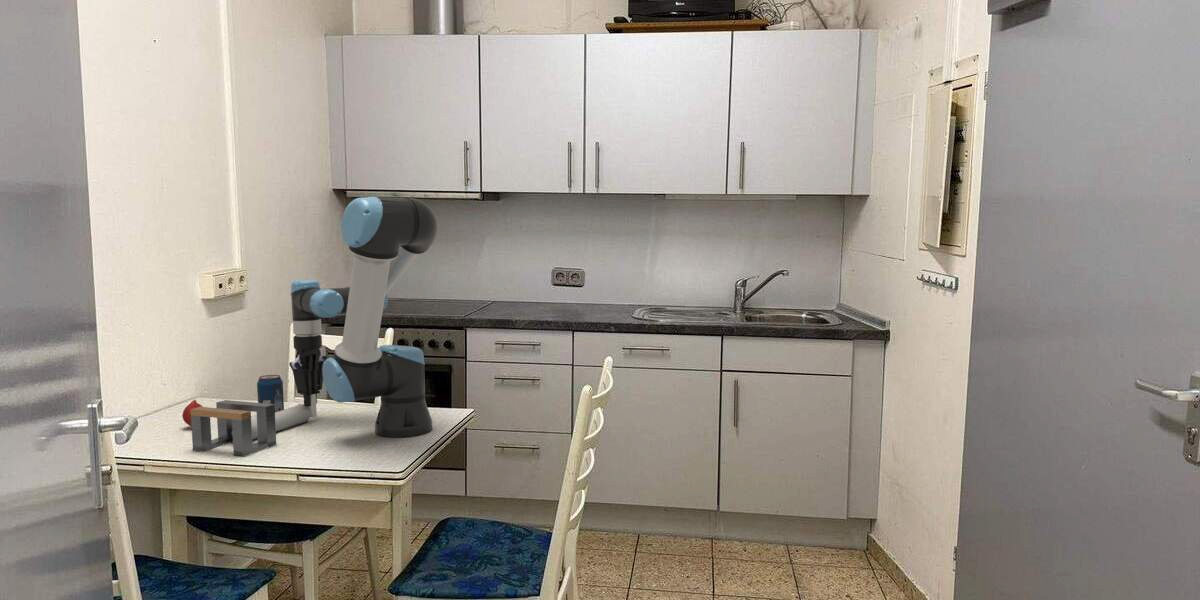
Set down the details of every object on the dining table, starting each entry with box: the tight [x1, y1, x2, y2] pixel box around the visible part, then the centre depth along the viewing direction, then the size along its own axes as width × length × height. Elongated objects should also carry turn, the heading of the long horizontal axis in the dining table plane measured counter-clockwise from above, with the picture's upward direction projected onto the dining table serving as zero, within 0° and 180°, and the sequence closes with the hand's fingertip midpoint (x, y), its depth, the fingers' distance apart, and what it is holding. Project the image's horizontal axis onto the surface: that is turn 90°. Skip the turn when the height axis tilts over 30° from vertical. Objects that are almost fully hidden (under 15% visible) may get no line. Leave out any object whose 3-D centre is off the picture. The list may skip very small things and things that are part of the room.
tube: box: [231, 403, 312, 441], centre depth 214 cm, size 5×5×25 cm
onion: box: [182, 399, 204, 428], centre depth 219 cm, size 6×6×8 cm
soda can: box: [256, 374, 285, 412], centre depth 231 cm, size 7×7×12 cm
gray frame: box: [190, 399, 277, 457], centre depth 199 cm, size 16×11×10 cm
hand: (311, 416), depth 225 cm, fingers closed
